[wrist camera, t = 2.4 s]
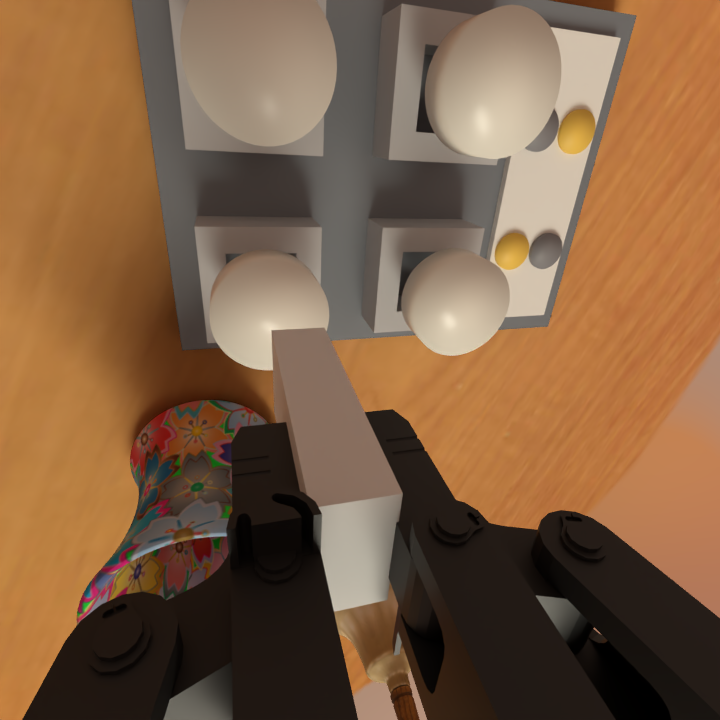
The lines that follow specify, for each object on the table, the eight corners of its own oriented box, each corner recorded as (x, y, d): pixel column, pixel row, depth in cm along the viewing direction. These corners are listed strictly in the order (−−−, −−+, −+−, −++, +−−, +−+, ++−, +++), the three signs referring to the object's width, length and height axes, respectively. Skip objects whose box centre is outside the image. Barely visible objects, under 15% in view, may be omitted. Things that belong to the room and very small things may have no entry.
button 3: (380, 323, 22) (409, 359, 19) (388, 235, 20) (422, 258, 17) (458, 319, 23) (497, 351, 20) (473, 235, 21) (520, 257, 18)
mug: (149, 367, 24) (107, 518, 15) (305, 406, 28) (347, 543, 19) (97, 526, 28) (40, 721, 19) (241, 540, 32) (250, 706, 23)
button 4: (396, 149, 18) (435, 155, 15) (408, 20, 16) (456, -6, 13) (488, 154, 20) (542, 161, 16) (510, 34, 18) (576, 15, 14)
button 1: (215, 332, 20) (215, 374, 17) (206, 235, 18) (203, 261, 15) (310, 327, 21) (327, 365, 18) (311, 235, 19) (331, 259, 16)
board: (184, 338, 23) (178, 372, 20) (128, -59, 16) (106, -104, 13) (533, 317, 29) (572, 341, 26) (612, 21, 22) (679, 4, 19)
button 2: (196, 137, 16) (190, 142, 13) (180, -14, 14) (169, -54, 11) (312, 144, 17) (334, 150, 14) (313, 5, 15) (339, -25, 12)
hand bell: (359, 644, 42) (424, 887, 29) (312, 612, 38) (363, 882, 25) (430, 598, 42) (529, 823, 29) (390, 560, 38) (486, 806, 24)
